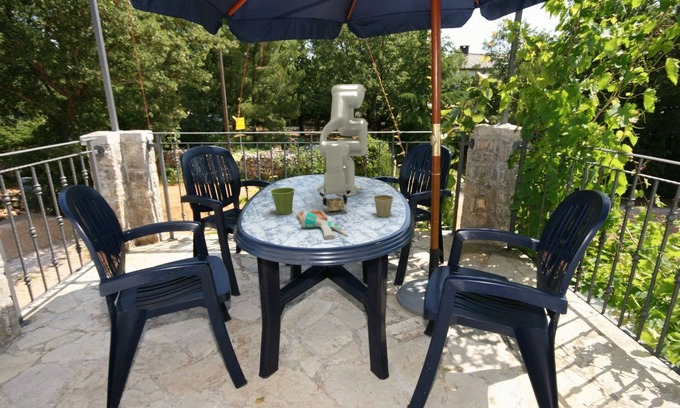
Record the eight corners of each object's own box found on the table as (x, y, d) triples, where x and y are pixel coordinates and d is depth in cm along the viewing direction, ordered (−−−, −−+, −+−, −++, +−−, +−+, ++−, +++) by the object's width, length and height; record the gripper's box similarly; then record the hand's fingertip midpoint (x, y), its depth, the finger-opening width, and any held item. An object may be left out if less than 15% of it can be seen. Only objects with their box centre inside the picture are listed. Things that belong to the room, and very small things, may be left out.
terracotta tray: (321, 214, 167) (321, 209, 166) (327, 221, 156) (327, 217, 155) (297, 216, 164) (297, 212, 163) (301, 224, 153) (301, 220, 152)
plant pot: (286, 207, 178) (285, 186, 175) (301, 212, 170) (300, 190, 167) (267, 212, 170) (265, 190, 167) (281, 218, 162) (279, 194, 159)
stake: (341, 208, 175) (341, 195, 173) (347, 213, 167) (346, 200, 165) (324, 210, 173) (323, 197, 171) (328, 215, 164) (328, 202, 162)
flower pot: (380, 219, 158) (380, 201, 155) (369, 214, 166) (369, 196, 163) (397, 216, 162) (397, 198, 159) (385, 210, 170) (386, 193, 167)
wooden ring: (340, 205, 173) (340, 197, 172) (344, 209, 167) (344, 201, 166) (326, 206, 171) (326, 198, 170) (330, 210, 165) (329, 202, 164)
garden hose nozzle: (349, 228, 137) (338, 209, 155) (305, 229, 133) (299, 208, 150) (347, 245, 139) (337, 223, 157) (304, 245, 135) (298, 223, 153)
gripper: (349, 167, 169) (349, 201, 174) (314, 169, 165) (315, 204, 169) (354, 169, 162) (354, 205, 167) (318, 172, 158) (319, 208, 162)
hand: (335, 204), depth 168 cm, fingers open, 9 cm apart
